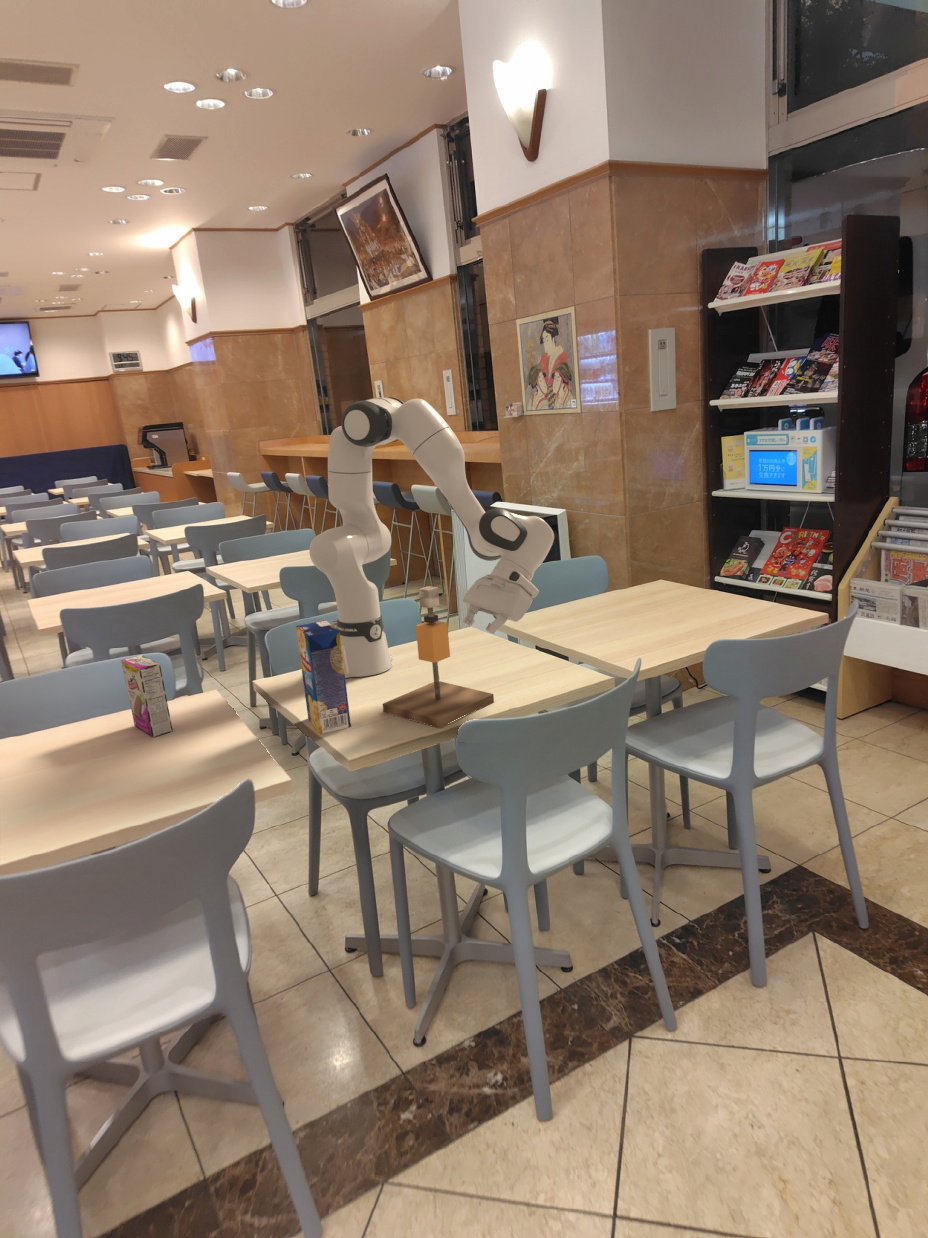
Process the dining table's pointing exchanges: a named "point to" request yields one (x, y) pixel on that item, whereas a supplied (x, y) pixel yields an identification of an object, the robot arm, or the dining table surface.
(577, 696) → the dining table surface
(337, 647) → the blue food box
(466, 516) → the robot arm
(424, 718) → the cord stand
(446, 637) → the marker sleeve
